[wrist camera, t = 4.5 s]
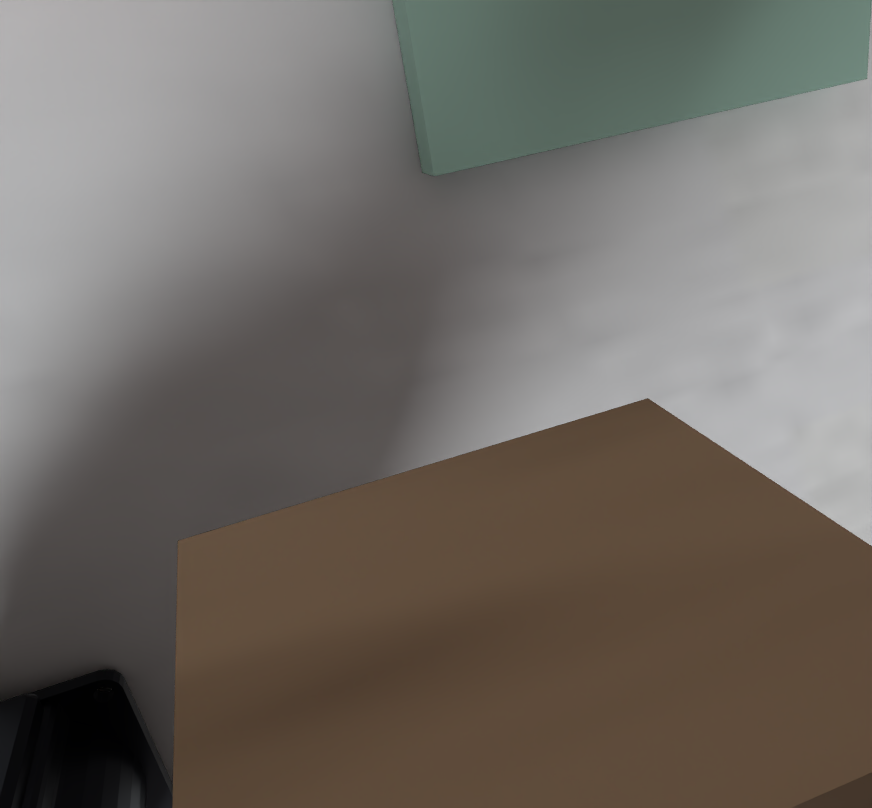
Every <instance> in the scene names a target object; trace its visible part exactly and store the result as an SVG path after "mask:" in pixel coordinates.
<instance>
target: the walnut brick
mask: <svg viewBox="0 0 872 808" xmlns="http://www.w3.org/2000/svg"><path fill="white" fill-rule="evenodd" d="M172 808H872V546H871V545H869V544H868V543H866V542H865V541H863V540H861V539H860V538H858V537H857V536H855V535H854V534H852V533H851V532H849V531H848V530H846V529H845V528H843V527H842V526H840V525H839V524H837V523H836V522H834V521H833V520H831V519H830V518H828V517H827V516H825V515H824V514H822V513H821V512H819V511H818V510H816V509H815V508H813V507H812V506H810V505H808V504H807V503H805V502H804V501H802V500H801V499H799V498H798V497H796V496H795V495H793V494H792V493H790V492H789V491H787V490H786V489H784V488H783V487H781V486H780V485H778V484H777V483H775V482H774V481H772V480H771V479H769V478H768V477H766V476H765V475H763V474H762V473H760V472H759V471H757V470H756V469H754V468H752V467H751V466H749V465H748V464H746V463H745V462H743V461H742V460H740V459H739V458H737V457H736V456H734V455H733V454H731V453H730V452H728V451H727V450H725V449H724V448H722V447H721V446H719V445H718V444H716V443H715V442H713V441H712V440H710V439H709V438H707V437H706V436H704V435H703V434H701V433H699V432H698V431H696V430H695V429H693V428H692V427H690V426H689V425H687V424H686V423H684V422H683V421H681V420H680V419H678V418H677V417H675V416H674V415H672V414H671V413H669V412H668V411H666V410H665V409H663V408H662V407H660V406H659V405H657V404H656V403H654V402H653V401H651V400H650V399H648V398H647V399H644V400H641V401H638V402H634V403H631V404H628V405H624V406H621V407H618V408H614V409H611V410H608V411H605V412H601V413H598V414H595V415H591V416H588V417H585V418H581V419H578V420H575V421H572V422H568V423H565V424H562V425H558V426H555V427H552V428H548V429H545V430H542V431H539V432H535V433H532V434H529V435H525V436H522V437H519V438H515V439H512V440H509V441H505V442H502V443H499V444H496V445H492V446H489V447H486V448H482V449H479V450H476V451H472V452H469V453H466V454H463V455H459V456H456V457H453V458H449V459H446V460H443V461H439V462H436V463H433V464H430V465H426V466H423V467H420V468H416V469H413V470H410V471H406V472H403V473H400V474H397V475H393V476H390V477H387V478H383V479H380V480H377V481H373V482H370V483H367V484H363V485H360V486H357V487H354V488H350V489H347V490H344V491H340V492H337V493H334V494H330V495H327V496H324V497H321V498H317V499H314V500H311V501H307V502H304V503H301V504H297V505H294V506H291V507H288V508H284V509H281V510H278V511H274V512H271V513H268V514H264V515H261V516H258V517H255V518H251V519H248V520H245V521H241V522H238V523H235V524H231V525H228V526H225V527H222V528H218V529H215V530H212V531H208V532H205V533H202V534H198V535H195V536H192V537H188V538H185V539H182V540H179V541H178V557H177V607H176V657H175V707H174V757H173V807H172Z"/></svg>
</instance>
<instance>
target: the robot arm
mask: <svg viewBox="0 0 872 808" xmlns="http://www.w3.org/2000/svg"><path fill="white" fill-rule="evenodd" d="M101 687H108V688H111V689H112V690H111V691H109V692H100V691H98V690H97V689H99V688H101ZM172 807H173V784H172V782H171V780H170V778H169V776H168V773H167V771H166V769H165V767H164V765H163V762H162V760H161V758H160V756H159V754H158V751H157V749H156V747H155V745H154V743H153V740H152V738H151V736H150V734H149V732H148V729H147V727H146V725H145V723H144V721H143V718H142V716H141V714H140V712H139V710H138V707H137V705H136V703H135V701H134V699H133V696H132V694H131V692H130V690H129V688H128V685H127V683H126V681H125V679H124V677H123V676H122V675H121V674H120V673H119V672H117V671H115V670H108V669H106V670H100V671H96V672H93V673H90V674H87V675H84V676H81V677H78V678H75V679H72V680H69V681H66V682H63V683H60V684H57V685H54V686H51V687H48V688H45V689H42V690H39V691H36V692H33V693H30V694H24V695H21V696H18V697H15V698H11V699H8V700H5V701H2V702H0V808H172Z"/></svg>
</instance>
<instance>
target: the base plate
mask: <svg viewBox="0 0 872 808" xmlns="http://www.w3.org/2000/svg"><path fill="white" fill-rule="evenodd" d="M392 2H393V7H394V13H395V19H396V25H397V30H398V36H399V42H400V48H401V53H402V59H403V65H404V71H405V76H406V82H407V88H408V94H409V99H410V105H411V111H412V117H413V122H414V128H415V134H416V140H417V145H418V151H419V157H420V163H421V168H422V173H425V174H428V175H432V176H438V175H442V174H447V173H451V172H456V171H460V170H465V169H469V168H473V167H478V166H482V165H487V164H491V163H496V162H500V161H504V160H509V159H513V158H518V157H522V156H527V155H531V154H536V153H540V152H544V151H549V150H553V149H558V148H562V147H567V146H571V145H575V144H580V143H584V142H589V141H593V140H598V139H602V138H607V137H611V136H615V135H620V134H624V133H629V132H633V131H638V130H642V129H646V128H651V127H655V126H660V125H664V124H669V123H673V122H677V121H682V120H686V119H691V118H695V117H700V116H704V115H709V114H713V113H717V112H722V111H726V110H731V109H735V108H740V107H744V106H748V105H753V104H757V103H762V102H766V101H771V100H775V99H780V98H784V97H788V96H793V95H797V94H802V93H806V92H811V91H815V90H819V89H824V88H828V87H833V86H837V85H842V84H846V83H851V82H855V81H859V80H864V79H867V70H868V53H869V36H870V19H871V2H872V0H392Z"/></svg>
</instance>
